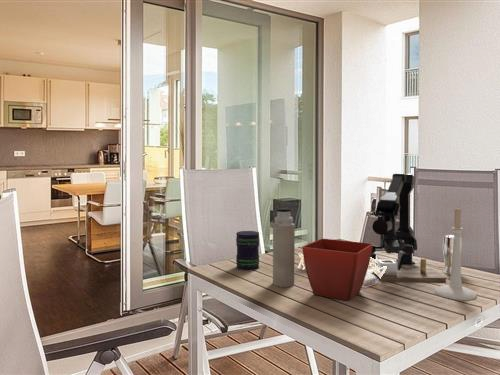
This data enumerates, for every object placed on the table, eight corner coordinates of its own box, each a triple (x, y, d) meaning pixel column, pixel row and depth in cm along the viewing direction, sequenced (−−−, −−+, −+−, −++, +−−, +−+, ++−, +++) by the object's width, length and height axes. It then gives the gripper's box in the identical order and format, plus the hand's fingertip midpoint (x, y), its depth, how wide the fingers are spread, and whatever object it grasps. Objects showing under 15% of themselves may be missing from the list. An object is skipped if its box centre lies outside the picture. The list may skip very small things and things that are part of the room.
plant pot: (372, 290, 155) (373, 243, 153) (356, 306, 138) (357, 253, 137) (321, 282, 164) (322, 238, 163) (300, 296, 148) (300, 246, 147)
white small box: (377, 270, 175) (377, 259, 175) (392, 270, 175) (392, 259, 175) (381, 274, 169) (381, 263, 169) (397, 274, 169) (397, 263, 169)
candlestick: (478, 292, 152) (481, 206, 150) (473, 302, 141) (476, 209, 139) (439, 286, 159) (441, 204, 157) (431, 295, 148) (433, 207, 146)
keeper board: (372, 271, 180) (372, 255, 179) (431, 272, 179) (431, 255, 178) (381, 281, 166) (381, 263, 165) (445, 281, 165) (446, 263, 165)
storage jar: (231, 267, 187) (231, 232, 186) (248, 263, 194) (248, 230, 193) (247, 271, 180) (246, 235, 179) (264, 267, 187) (264, 232, 186)
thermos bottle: (281, 279, 168) (282, 206, 166) (298, 283, 163) (299, 208, 161) (268, 283, 162) (268, 208, 161) (285, 288, 157) (285, 210, 155)
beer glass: (457, 270, 182) (458, 234, 181) (463, 274, 175) (464, 237, 174) (439, 270, 183) (440, 234, 182) (445, 274, 176) (446, 237, 175)
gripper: (368, 234, 164) (367, 275, 165) (419, 234, 163) (418, 276, 164) (361, 229, 175) (361, 268, 176) (409, 229, 174) (408, 268, 175)
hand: (387, 270), depth 172 cm, fingers open, 9 cm apart
